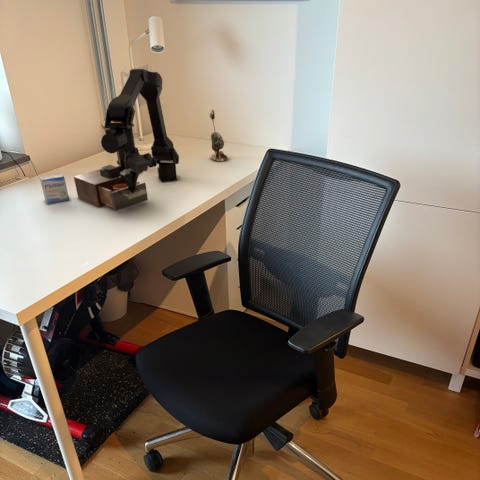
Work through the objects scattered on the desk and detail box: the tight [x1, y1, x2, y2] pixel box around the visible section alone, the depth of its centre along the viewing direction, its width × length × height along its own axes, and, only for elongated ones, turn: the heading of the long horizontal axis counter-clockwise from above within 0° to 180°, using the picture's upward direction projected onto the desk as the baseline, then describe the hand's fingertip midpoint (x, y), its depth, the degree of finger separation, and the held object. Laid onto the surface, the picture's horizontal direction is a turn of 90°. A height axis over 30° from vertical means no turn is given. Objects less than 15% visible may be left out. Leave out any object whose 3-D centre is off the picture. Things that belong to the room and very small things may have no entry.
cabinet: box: [73, 168, 122, 208], centre depth 180 cm, size 14×15×8 cm
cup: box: [113, 184, 127, 191], centre depth 173 cm, size 5×5×4 cm
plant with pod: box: [209, 108, 229, 162], centre depth 212 cm, size 8×11×20 cm
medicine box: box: [39, 173, 70, 205], centre depth 179 cm, size 8×4×9 cm, turn 117°
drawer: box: [97, 179, 149, 212], centre depth 173 cm, size 17×13×6 cm
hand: (132, 192), depth 168 cm, fingers closed
